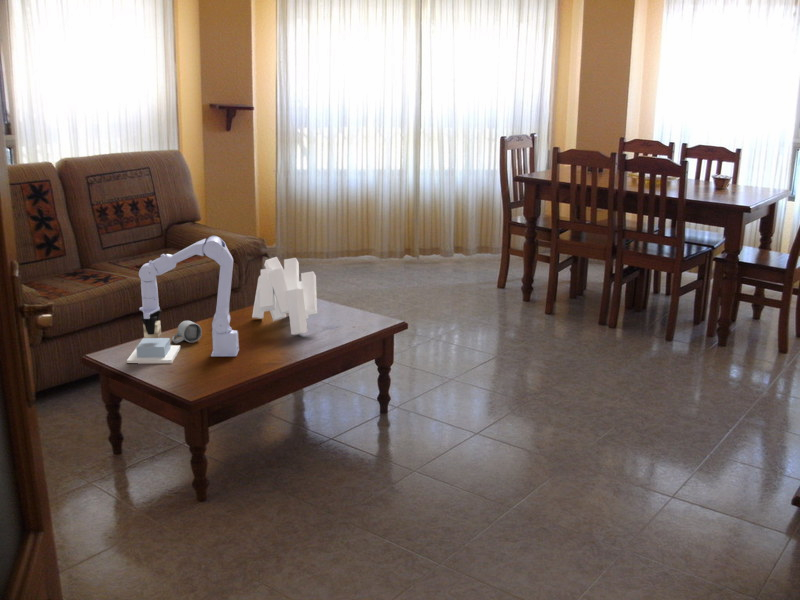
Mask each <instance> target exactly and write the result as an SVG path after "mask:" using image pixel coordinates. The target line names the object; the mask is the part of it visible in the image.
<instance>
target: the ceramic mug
mask: <svg viewBox="0 0 800 600" xmlns="http://www.w3.org/2000/svg"><path fill="white" fill-rule="evenodd" d="M202 331H203V330H202V328H201V326H200V324H198V323H197V322H196V323H195V322H194V321H191V320H183V321H182V322H180V323H179V325H178V326H177V333H176V334H174V335H173V336H172V337H171V340H172V342H173V343H174V344H178V343H181V342H183V341H186V342H187V343H189V344H190V343H192V344H193V343H196V342H197V341H199V340H200V339H201V337H202V334H203V332H202Z"/></svg>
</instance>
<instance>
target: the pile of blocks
mask: <svg viewBox="0 0 800 600" xmlns="http://www.w3.org/2000/svg"><path fill="white" fill-rule="evenodd" d="M299 265H300V263H299V261H298V259H297V257H291V258H285V259H283V266H282V263H281V262H280V260H279V258H278V256H275V257H271V258H269V259H265V261H264V265H263V266H264V268H261V269H260V275H259V276H258V278H257V283H256V284H257V285H256V291H255V297H254V303H253V309H252V315H251V317H252V318H253V319H259V320H260V319H262V320H263V319H264V315H265V312H270V315H271V317H272V318H271V319H272V321H273V322H276V321H280V320H283V319H285V318H286V317H287V314H288V316H289V324H290V325H289V326H290V335H303V334H307V333H308V332H309V331H308V323H307V320H309V315H315V314H316V315H317V314H318V299H317V296H318V295H317V275H316V273H315V272H314V271H313V270H312V271H307V272H306V271H305V272H301V276H299V275H300V267H299ZM300 277H301V278H300ZM300 279H301V280H300Z"/></svg>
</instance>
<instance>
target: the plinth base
mask: <svg viewBox="0 0 800 600" xmlns="http://www.w3.org/2000/svg"><path fill="white" fill-rule="evenodd" d="M180 350H181V345H179V344H178V345H176V344H175V345H173V344H171V338H170V337H158V338H144V337H143V338H142V339H141V340H140V342H139V343H138V344H137V346H136V347H135V349H134V350H133V351H132V353H131V354H130V356H129V357H128V358H127V359H126V364H127V363H138V364H173V362H174V360H175V358H176V357H177V355H178V353H179V351H180Z"/></svg>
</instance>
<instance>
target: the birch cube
mask: <svg viewBox="0 0 800 600" xmlns="http://www.w3.org/2000/svg"><path fill="white" fill-rule="evenodd" d="M142 326H143V338H160V337H161V336H160V335H162V326H161V320H159V321H156V322H155V331H154V334H152V335H148V333H147V330H146V327H145V325H144V324H142Z"/></svg>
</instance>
